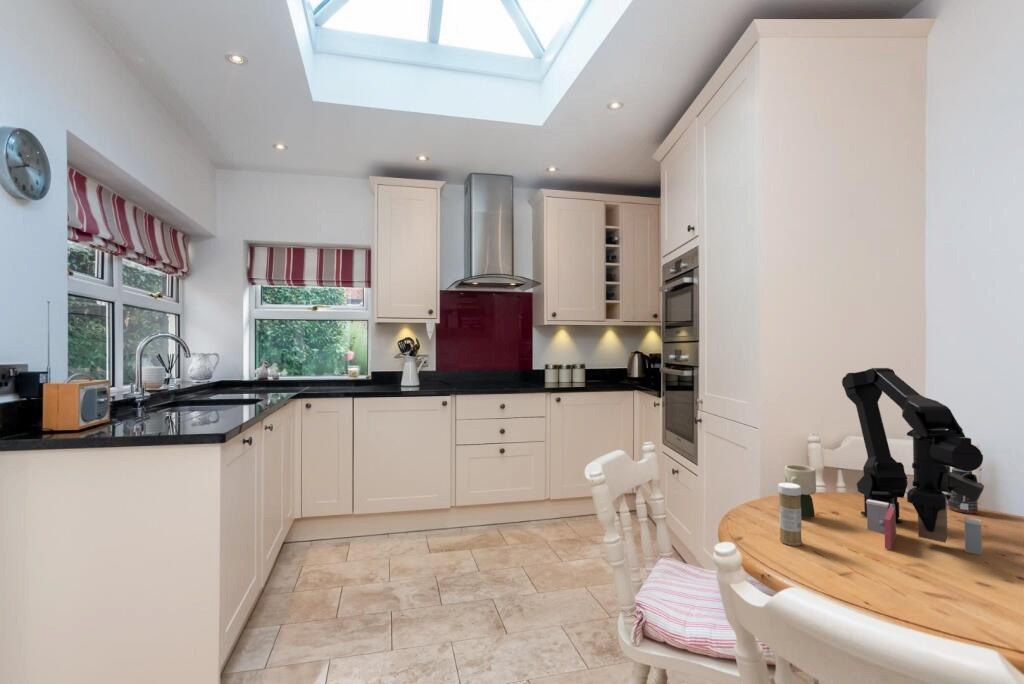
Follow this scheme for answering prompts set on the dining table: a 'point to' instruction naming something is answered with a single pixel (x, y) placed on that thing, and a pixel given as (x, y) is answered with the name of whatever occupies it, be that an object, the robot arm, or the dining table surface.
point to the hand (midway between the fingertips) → (931, 528)
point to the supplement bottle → (962, 499)
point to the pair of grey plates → (879, 511)
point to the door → (889, 527)
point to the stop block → (939, 529)
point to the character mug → (803, 486)
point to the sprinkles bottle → (790, 513)
